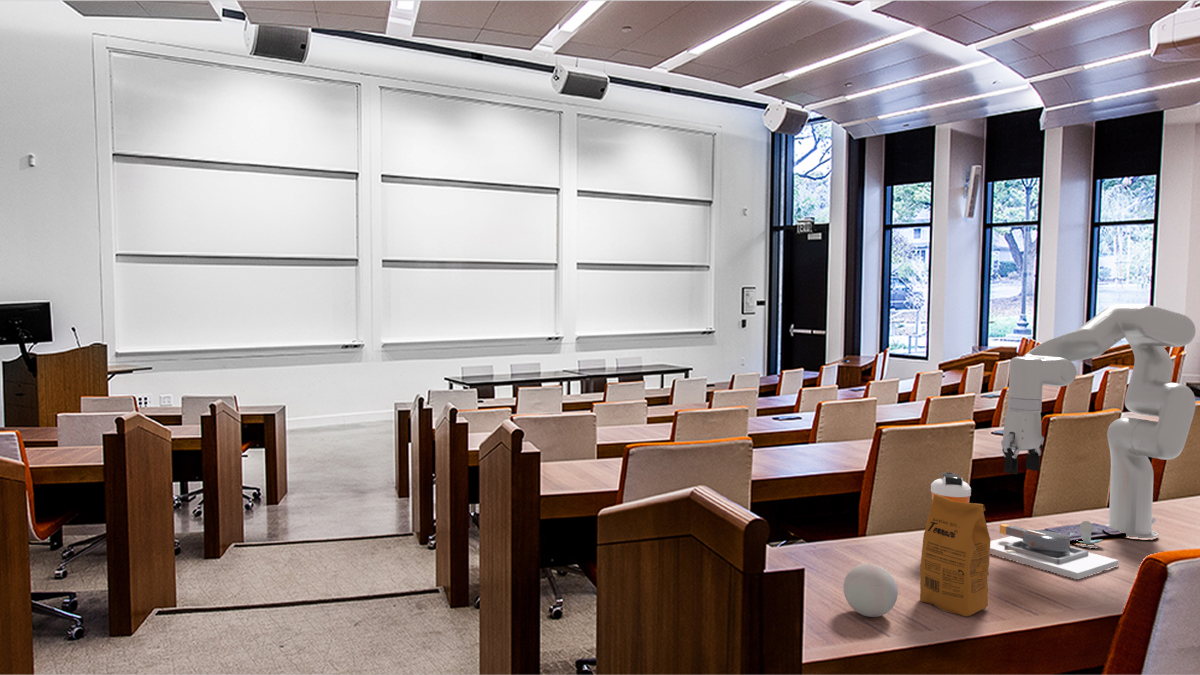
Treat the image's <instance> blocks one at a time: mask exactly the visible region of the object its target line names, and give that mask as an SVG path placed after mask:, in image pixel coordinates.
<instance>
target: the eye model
mask: <svg viewBox="0 0 1200 675" xmlns="http://www.w3.org/2000/svg"><path fill="white" fill-rule="evenodd" d="M842 587H843V590H842V591H843V594H844V595H843V596H844V597H845V600H846V602H847V604H848V605H849V606H850V607H851V609H852V610H854V611H855V612H856V613H858V614H860V615H862V616H865V617H868V618H869V617H870V618H878V617H882V616H885V615H887V614H888V613H889V612H890V611H891V610H892V609H893V608H894V606H895V605H896V603H897V599H898V596H899V595H898V594H899V589H898V586H897V582H896V581H895V579H894V578H893V576H892V574H890V572H888V571H887V570H886V569H885V568H883V567H882V566H880V565H878V564H876V563H875V564H874V563H861V564H858V565H856V566H854V567H852V568H851V569H850V570H849V571H848V573H847V574H846V576H845V578H844V581H843V585H842Z"/></svg>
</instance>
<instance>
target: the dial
mask: <svg viewBox="0 0 1200 675" xmlns="http://www.w3.org/2000/svg"><path fill="white" fill-rule="evenodd" d="M999 534H1002V535H1006V536H1013V537H1017V538H1021V539H1023V548H1022V549H1025V550H1029V551H1032V552H1036V553H1040V554H1043V555H1047V556H1051V557H1054V558H1060V557H1064V556H1067V555H1070V547H1071V544H1070V541H1071V537H1069V535H1066V534H1063V533H1060V532H1056V531H1051V530H1043V529H1025V528H1021V527H1019V526H1018V527H1017V526H1014V525H1011V524H1007V523H1003V524H999Z"/></svg>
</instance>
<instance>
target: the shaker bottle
mask: <svg viewBox="0 0 1200 675" xmlns="http://www.w3.org/2000/svg"><path fill="white" fill-rule="evenodd" d="M941 475H942V476H943V477H941V478H937V479H935V480H934V481H932V482H931V484H930V492H931V500H932V501H933V497H934V495H935V494H938V495H940V496H943V497H945V498H947V499H949V500H951V501H953V502H963V503H970V497H971V496H972V494H971V493H972V488H971V486H970V485H969V483H967V482H966V481H964V480H963V477H960V476H959V474H957V473H954V472H949V471H947V472H946V471H944V472H941ZM932 501H931V502H932Z"/></svg>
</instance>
